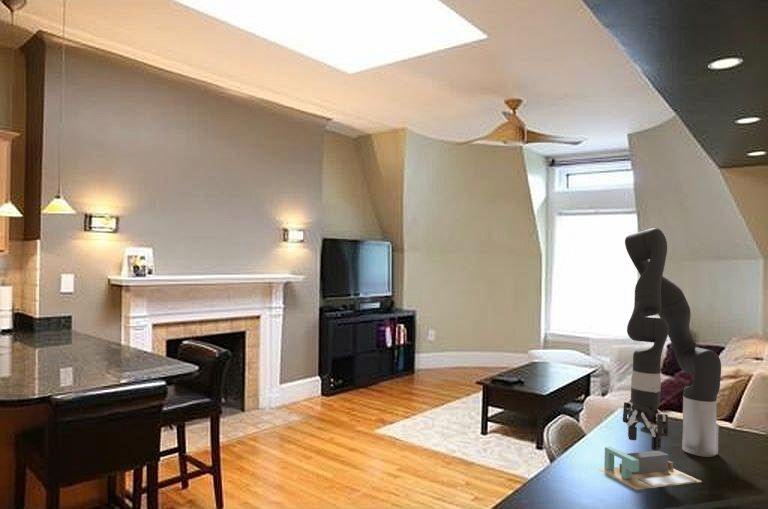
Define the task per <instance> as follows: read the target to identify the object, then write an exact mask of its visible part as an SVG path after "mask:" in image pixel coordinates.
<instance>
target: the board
mask: <svg viewBox="0 0 768 509" xmlns="http://www.w3.org/2000/svg"><path fill="white" fill-rule="evenodd" d="M598 470H599V471H601V472H603V473H605V475H608V476H610V477H612V478H614V479H616V480H618V481H620V482H621V483H623V484H625V485H627V486H628V487H630V488H632V489H635V490H636V491H638V490H644V489H645V490H646V489H647V490H648V489H653V488H654V489H655V488H661V487H670V486H678V485H685V484H687V485H688V484H693V483H702V482H703V481H702V480H700V479H697V478H695V477H693V476H691V475H689V474H687V473H685V472H682V471H680V470H677V469H676V468H674V462H673V461H670V460H668V471H662V472H653V473H644V474H636V475H634V474H632V478H630V479H625V478H623V477H621V475H622V462H621V463H619V466H614V469H612V470H608V469H606V468H598Z"/></svg>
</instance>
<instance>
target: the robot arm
mask: <svg viewBox="0 0 768 509" xmlns="http://www.w3.org/2000/svg"><path fill="white" fill-rule="evenodd" d="M624 245H625V249H626V251H627V254H628V256H629V258H630V260H631V262H632V264H633V265H634V268H636V270H637V272H638V273H639V275H640V276H639V278H638V280H637V281H636V284H635V288H634V304H633V305H634V307H633V310H632V313H631V316H630V319H629V320H628V323H627V326H626V331H627V332H626V333H627V335H628V337H629V339H631V340H632V341H635V342H645V343H653V345H652V346H651V347H649V348H646V349H645V348H642V349H636V350H635V351H634V352H633V354H632V372H631V382H630V402H629V401H628V402H627V401H626V402H623V412H622V421H623V423H625V424H626V426H627V428H628V430H627V437H628V440H630V441H636V440H637V436H638V434H637V431H638V428H637V426H638V425H639V423H641V424H643V426H644V425H647V428H646V429H648V430H649V431H650V433H651V435H652V436H651V446H650V447H651V451H658V450H659V451H660V450H661V448H662V447H661V446H662V438H663V437H666V438H667V437H668V436H669V420H668V419H669V416H668V414H667V413H661V412H660V413H658V410H659V407H660V406H661V390H662V389H661V388H662V386H661V385H662V378H661V361H662V353H663V350H664V346H665V344H666V341H667V339H668V337H669V339H670V340H669V341H670V342H671V345H672V349H673V353H674V355H675V358H676V361H677V363H678V366H679V367H680V369H681V370H682V371H683V372H685V374H688V375H690V376H693V381H692V384H691V385H687V386H684V387H683V392H682V395H683V396H682V398H683V399H682V436H681V437H682V444H681V446H682V447H681V449H682V451H683V452H686V453H688V454H690V455H694V456H699V457H704V458H712V457H715V456H717V455H719V423H717V399H718V395H719V392H720V389H721V379H722V378H721V377H722V362H721V358H720V356H719V354H717V352H715V351H714V350H711V349H708V348H701V347H699V346H698V345H697V343H696V342H695V340H694V338H693V336H692V334H691V333H692V332H691V330H690V323H691V308H690V305H689V302H688V300H687V299H686V298H687V297H686V296H685V293H684V292H683V290H682V288H680V287H679V286H677V285H676V284H675V283H674V282H673V281H671V280H670V279H668V278H666V277H665V276H664V275H663V274H664V271H665V270H664V269H665V267H666V266H665V265H666V260H667V254H668V241H667V238H666V236H665V234H664V232H663V231H662V230H661V229H660V228H658V227H653V228H648V229H645V230H642V231H638V232H635V233H632V234H629V235H627V236H626V237H625V239H624ZM656 315H658V316H659V317H653V316H656ZM651 316H652V317H651ZM653 423H654V424H655V425H652V424H653Z"/></svg>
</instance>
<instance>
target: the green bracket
mask: <svg viewBox="0 0 768 509" xmlns="http://www.w3.org/2000/svg"><path fill="white" fill-rule="evenodd" d="M627 454H628V453H625V452H623V451H621V450H618V449H617V448H614V447H612V446H605V447H604V465H603V466H604V468H606V469H608V470H612V469H614V467H615V457H617V458H619V459H620V460H621V463H622V475H621V477H623V478H625V479H630V478H632V472H638V471H639V460H638V459H636V458H634V457H632V456H630V455H627ZM604 468H603V469H604Z"/></svg>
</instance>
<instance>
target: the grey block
mask: <svg viewBox="0 0 768 509" xmlns="http://www.w3.org/2000/svg"><path fill="white" fill-rule="evenodd" d="M626 454H627V455H630V456H632V457H634V458H636V459H638V460H639V471H638V472H632V474H634V475H636V474H644V473H653V472H662V471H668V461H669V454H668V453H666V452H663V451H660V450H658V451H654V450H649V451H639V452H630V453H629V452H628V453H626Z"/></svg>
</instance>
